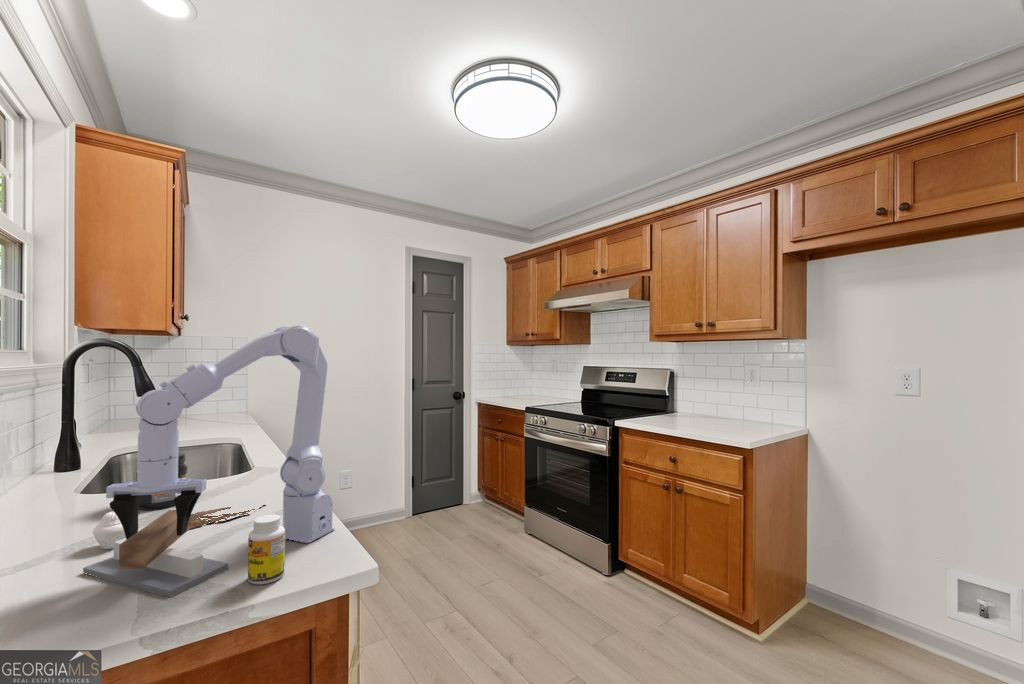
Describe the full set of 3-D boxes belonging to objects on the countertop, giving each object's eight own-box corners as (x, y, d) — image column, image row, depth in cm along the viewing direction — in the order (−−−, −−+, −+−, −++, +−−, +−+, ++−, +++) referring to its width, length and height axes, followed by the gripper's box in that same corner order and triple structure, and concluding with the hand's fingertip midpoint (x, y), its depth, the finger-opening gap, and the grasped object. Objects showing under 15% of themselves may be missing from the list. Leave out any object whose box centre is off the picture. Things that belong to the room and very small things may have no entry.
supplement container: (190, 504, 115) (190, 456, 116) (136, 514, 108) (136, 463, 109) (184, 494, 123) (184, 449, 123) (133, 503, 116) (134, 455, 116)
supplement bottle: (240, 581, 78) (241, 520, 78) (271, 567, 83) (272, 510, 83) (260, 589, 75) (261, 526, 75) (291, 575, 80) (292, 515, 80)
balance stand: (228, 569, 82) (228, 546, 82) (169, 597, 73) (170, 571, 73) (145, 549, 89) (146, 529, 89) (83, 573, 80) (83, 550, 80)
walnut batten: (189, 529, 89) (189, 508, 90) (144, 567, 74) (144, 542, 74) (168, 531, 89) (169, 510, 89) (118, 570, 73) (119, 544, 73)
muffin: (134, 546, 91) (135, 510, 91) (92, 555, 87) (93, 518, 87) (131, 536, 96) (132, 503, 96) (92, 545, 91) (92, 510, 91)
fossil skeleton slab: (148, 542, 93) (149, 537, 93) (137, 528, 101) (138, 524, 101) (280, 510, 113) (280, 506, 113) (263, 500, 120) (263, 496, 120)
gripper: (213, 451, 87) (212, 523, 87) (123, 454, 83) (122, 530, 83) (197, 459, 80) (196, 538, 80) (98, 464, 77) (97, 546, 76)
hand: (157, 535), depth 81 cm, fingers open, 7 cm apart
